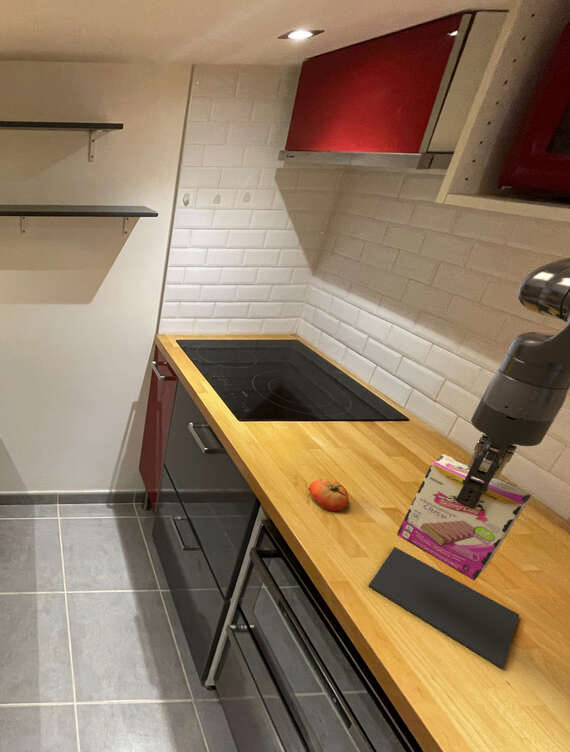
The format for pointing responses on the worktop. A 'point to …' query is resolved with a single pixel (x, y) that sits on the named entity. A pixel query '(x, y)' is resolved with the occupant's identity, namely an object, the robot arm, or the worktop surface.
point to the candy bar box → (461, 518)
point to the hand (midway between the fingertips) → (469, 496)
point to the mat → (447, 605)
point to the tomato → (329, 494)
